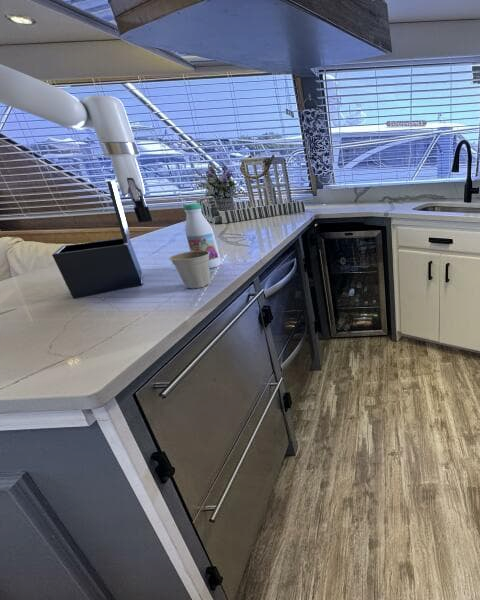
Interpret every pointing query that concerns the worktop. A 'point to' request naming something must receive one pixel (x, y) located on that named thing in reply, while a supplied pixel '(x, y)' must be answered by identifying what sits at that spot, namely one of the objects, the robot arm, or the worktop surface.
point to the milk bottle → (200, 234)
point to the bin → (98, 267)
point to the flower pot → (193, 268)
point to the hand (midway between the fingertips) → (145, 221)
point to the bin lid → (119, 210)
